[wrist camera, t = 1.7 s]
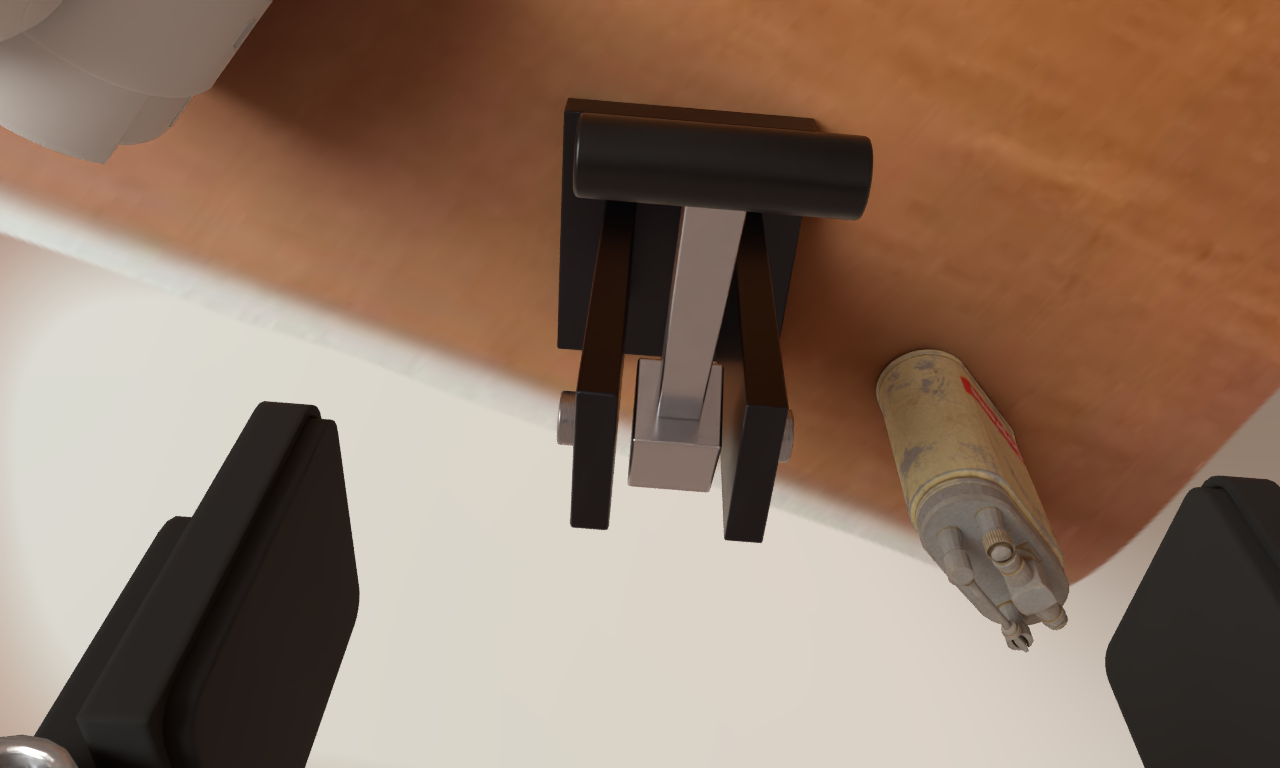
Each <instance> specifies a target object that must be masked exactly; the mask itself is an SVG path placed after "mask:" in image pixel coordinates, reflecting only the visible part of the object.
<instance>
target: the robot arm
mask: <svg viewBox="0 0 1280 768" xmlns="http://www.w3.org/2000/svg"><path fill="white" fill-rule="evenodd" d="M358 606H359V584H358V576H357V569H356V562H355V555H354V547H353V539H352V532H351V524H350V517H349V510H348V503H347V495H346V488H345V481H344V473H343V466H342V458H341V451H340V444H339V437H338V431H337V425H336V423H335V421H333V420H327V419H321V415H320V411H319V410H318V408H317V407H316V406H314V405H306V404H305V405H304V404H293V403H280V402H279V403H278V402H267V401H264V402H261V403H260V404H259V405H258V406H257V407H256V409H255V410H254V412H253V413H252V415H251V417H250V419H249V420H248V422H247V424H246V426H245V427H244V429H243V431H242V432H241V434H240V436H239V438H238V439H237V441H236V443H235V444H234V446H233V448H232V449H231V451H230V453H229V455H228V456H227V458H226V460H225V462H224V463H223V465H222V467H221V469H220V470H219V472H218V474H217V475H216V477H215V479H214V480H213V482H212V484H211V486H210V487H209V489H208V491H207V492H206V494H205V496H204V498H203V499H202V501H201V503H200V505H199V506H198V508H197V510H196V511H195V513H194V515H193V516H192V517H181V516H175V517H174V518H172V519H170V520H169V521H167V522H166V524H165V525H164V526H163V527H162V529H161V530H160V531H159V532H158V534H157V536H156V537H155V539H154V540H153V542H152V544H151V545H150V547H149V549H148V550H147V552H146V554H145V555H144V557H143V558H142V560H141V562H140V564H139V565H138V567H137V568H136V570H135V572H134V573H133V575H132V577H131V578H130V580H129V581H128V583H127V585H126V586H125V588H124V590H123V591H122V593H121V594H120V596H119V598H118V599H117V601H116V603H115V604H114V606H113V608H112V609H111V611H110V612H109V614H108V616H107V617H106V619H105V621H104V622H103V624H102V626H101V627H100V629H99V631H98V632H97V634H96V635H95V637H94V639H93V640H92V642H91V644H90V645H89V647H88V649H87V650H86V652H85V654H84V655H83V657H82V658H81V660H80V662H79V663H78V665H77V667H76V668H75V670H74V672H73V673H72V675H71V676H70V678H69V680H68V681H67V683H66V685H65V686H64V688H63V690H62V691H61V693H60V694H59V696H58V698H57V699H56V701H55V703H54V704H53V706H52V707H51V709H50V711H49V712H48V714H47V716H46V717H45V719H44V721H43V722H42V724H41V726H40V727H39V729H38V731H37V732H36V734H35V735H34V737H33V736H27V735H16V736H7V737H0V768H305V766H306V763H307V760H308V757H309V754H310V751H311V748H312V745H313V743H314V740H315V736H316V734H317V731H318V728H319V725H320V722H321V720H322V717H323V713H324V711H325V708H326V705H327V702H328V699H329V697H330V694H331V691H332V688H333V685H334V682H335V679H336V676H337V674H338V671H339V668H340V665H341V662H342V659H343V656H344V653H345V651H346V648H347V645H348V642H349V639H350V636H351V633H352V630H353V627H354V625H355V621H356V618H357V613H358ZM1105 667H1106V673H1107V677H1108V680H1109V683H1110V685H1111V688H1112V690H1113V693H1114V695H1115V697H1116V700H1117V702H1118V704H1119V707H1120V709H1121V712H1122V714H1123V717H1124V719H1125V722H1126V724H1127V726H1128V729H1129V731H1130V734H1131V736H1132V738H1133V741H1134V743H1135V746H1136V748H1137V750H1138V753H1139V755H1140V757H1141V760H1142V762H1143V765H1144V767H1145V768H1280V487H1279V486H1278V485H1277V484H1276V483H1275V482H1273V481H1270V480H1267V479H1256V478H1243V477H1230V476H1213V477H1210V478H1209V479H1208V480H1206V481H1205V482H1204V484H1203V485H1202V486H1201V487H1197V488H1193V489H1191V490H1190V491H1189V492H1188V493H1187V495H1186V496H1185V498H1184V500H1183V502H1182V504H1181V506H1180V508H1179V510H1178V512H1177V513H1176V515H1175V517H1174V519H1173V521H1172V523H1171V525H1170V527H1169V529H1168V531H1167V533H1166V535H1165V537H1164V539H1163V541H1162V542H1161V544H1160V547H1159V548H1158V550H1157V552H1156V554H1155V556H1154V558H1153V560H1152V562H1151V564H1150V566H1149V568H1148V570H1147V571H1146V573H1145V575H1144V577H1143V579H1142V581H1141V583H1140V585H1139V587H1138V589H1137V591H1136V593H1135V595H1134V597H1133V599H1132V600H1131V603H1130V604H1129V606H1128V608H1127V610H1126V612H1125V614H1124V616H1123V618H1122V620H1121V622H1120V624H1119V626H1118V628H1117V630H1116V631H1115V634H1114V635H1113V637H1112V639H1111V641H1110V643H1109V645H1108V648H1107V651H1106V657H1105Z"/></svg>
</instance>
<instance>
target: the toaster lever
mask: <svg viewBox="0 0 1280 768" xmlns="http://www.w3.org/2000/svg"><path fill="white" fill-rule="evenodd" d="M872 173H873V149H872V144H871V141H870V139H869V138H867V137H866V136H858V135H846V134H834V133H822V132H810V131H799V130H787V129H775V128H763V127H751V126H739V125H727V124H715V123H704V122H692V121H680V120H668V119H656V118H644V117H632V116H621V115H609V114H597V113H585V112H584V113H581V114H580V116H579V118H578V122H577V128H576V137H575V148H574V164H573V190H574V194H575V196H577V197H579V198H590V199H602V200H614V201H626V202H638V203H650V204H662V205H674V206H682V209H681V216H680V224H679V231H678V239H677V246H676V254H675V261H674V269H673V276H672V284H671V291H670V299H669V306H668V314H667V321H666V329H665V336H664V344H663V352H662V359H648V358H639V360H638V365H637V375H636V386H635V397H634V408H633V420H632V433H631V446H630V459H629V472H628V485H629V486H635V487H647V488H660V489H672V490H685V491H697V492H709V490H710V488H711V484H712V480H713V477H714V473H715V470H716V466H717V462H718V459H719V455H720V452H721V448H722V422H723V387H724V367H723V365H721V364H713V361H714V356H715V352H716V347H717V343H718V338H719V334H720V329H721V325H722V320H723V316H724V311H725V307H726V302H727V298H728V293H729V289H730V284H731V280H732V275H733V271H734V266H735V262H736V257H737V253H738V248H739V244H740V239H741V235H742V230H743V226H744V221H745V217H746V212H758V213H770V214H782V215H794V216H806V217H818V218H830V219H842V220H857V219H859V218H860V217H861V216H862V214H863V212H864V210H865V207H866V205H867V201H868V198H869V193H870V188H871V182H872Z"/></svg>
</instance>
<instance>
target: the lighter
mask: <svg viewBox="0 0 1280 768" xmlns="http://www.w3.org/2000/svg"><path fill="white" fill-rule="evenodd" d="M876 397H877V401H878V404H879V407H880V409H881V410H882V413H883V417H884V421H885V424H886V428H887V432H888V436H889V440H890V444H891V448H892V452H893V455H894V459H895V463H896V467H897V471H898V475H899V479H900V482H901V486H902V490H903V494H904V498H905V502H906V506H907V510H908V513H909V517H910V520H911V523H912V526H913V527H914V528H915V529H916V531H917V532H918V533H919V536H920V540H921V543H922V545H923V548H924V549H925V550H926V551H927V553H928V554H929V555H930V556H931V557H932V559H933V560H934V561H935V562H936V563H937V564H938V566H939V567H940V568H941V569H942V570H943V571H944V573H945V574H946V575H947V576H948V579H949V581H950V582H951V583H952V584H954V585H956V586H957V588H958V589H959V590H960V591H961V592H962V593H963V594H964V595H965V596H966V597H967V598H968V599H969V601H970V602H971V603H972V604H973V605H974V606H975V607H976V608H977V609H978V610H979V612H980V613H982V615H983V616H985V617H986V618H988V619H990V620H991V621H994V622H996V623H999V624H1001V625H1002V627H1001V630H1002V634H1003V635H1004V636H1005V639H1006V642H1007V645H1008V647H1009V648H1011V649H1013V650H1023V651H1025V652H1028V648H1027V646H1028V647H1030V646H1031V645H1032V643H1033V638H1032V635H1031V632H1030V629H1029V627H1028V626H1027V625H1032V624H1036V623H1039V622H1042V623H1043V624H1044V625H1046V626H1048V627H1049V628H1051V629H1053V630H1058V629H1061V628H1063V627H1064V626H1065V625H1066V623H1067V621H1068V619H1067V615H1066V613H1065V610H1064V609H1063V607H1062V606H1063V605H1064V603H1065V601H1066V599H1067V596H1068V593H1069V583H1068V579H1067V577H1066V574H1065V572H1064V558H1063V554H1062V551H1061V549H1060V547H1059V544H1058V542H1057V540H1056V537H1055V535H1054V532H1053V530H1052V528H1051V525H1050V523H1049V521H1048V518H1047V516H1046V513H1045V511H1044V509H1043V506H1042V504H1041V501H1040V499H1039V497H1038V494H1037V492H1036V490H1035V487H1034V485H1033V482H1032V480H1031V478H1030V475H1029V473H1028V470H1027V468H1026V466H1025V463H1024V461H1023V459H1022V456H1021V454H1020V451H1019V449H1018V447H1017V444H1016V439H1015V436H1014V432H1013V430H1012V429H1011V427H1010V426H1009V425H1008V423H1007V422H1006V421H1005V419H1004V418H1003V417H1002V415H1001V414H1000V413H999V411H998V410H997V409H996V407H995V406H994V405H993V403H992V402H991V401H990V399H989V398H988V397H987V395H986V394H985V393H984V391H983V390H982V389H981V387H980V386H979V385H978V383H977V382H976V381H975V379H974V378H973V377H972V375H971V374H970V373H969V371H968V370H967V369H966V367H965V366H964V365H963V363H962V362H961V361H960V359H958V358H957V357H955V356H954V355H952V354H949V353H947V352H944V351H940V350H931V349H925V350H917V351H913V352H910V353H907V354H904V355H902V356H900V357H898V358H897V359H895V360H894V361H892V362H891V363H890V364H889V365H888V366H887V367H886V368H885V369H884V371H883V372H882V374H881V375H880V377H879V380H878V382H877V387H876ZM1025 641H1026V642H1025ZM1026 644H1027V645H1026Z"/></svg>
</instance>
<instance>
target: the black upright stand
mask: <svg viewBox="0 0 1280 768" xmlns="http://www.w3.org/2000/svg"><path fill="white" fill-rule="evenodd" d="M584 112H585V113H597V114H609V115H621V116H632V117H644V118H656V119H668V120H680V121H692V122H704V123H715V124H727V125H739V126H751V127H763V128H775V129H787V130H799V131H810V132H817V129H816V125H815V122H814V119H811V118H799V117H788V116H776V115H764V114H752V113H740V112H728V111H716V110H705V109H693V108H681V107H669V106H657V105H645V104H633V103H622V102H610V101H598V100H586V99H574V98H568V100H567V103H566V107H565V111H564V133H563V168H562V202H561V237H560V271H559V306H558V340H557V347H558V348H559V349H572V350H582V356H581V362H580V369H579V375H578V382H577V388H576V392H573V391H562V393H561V397H560V404H559V413H558V425H557V442H558V444H560V445H572V446H573V469H572V492H571V494H572V495H571V517H570V524H571V526H572V527H574V528H586V529H599V530H607V529H608V527H609V518H610V507H611V496H612V484H613V474H614V464H615V453H616V442H617V431H618V420H619V409H620V398H621V387H622V376H623V365H624V354H633V355H645V356H657V357H662V352H663V344H664V336H665V329H666V321H667V314H668V306H669V299H670V291H671V284H672V276H673V269H674V261H675V254H676V246H677V239H678V231H679V224H680V216H681V209H682V206H674V205H662V204H650V203H638V202H626V201H614V200H602V199H590V198H579V197H577V196H575V194H574V190H573V164H574V148H575V137H576V128H577V122H578V118H579V116H580V114H581V113H584ZM801 221H802V216H794V215H782V214H770V213H758V212H746V217H745V221H744V226H743V230H742V235H741V239H740V244H739V248H738V253H737V257H736V262H735V266H734V271H733V275H732V280H731V284H730V289H729V293H728V298H727V302H726V307H725V311H724V316H723V320H722V325H721V329H720V334H719V338H718V343H717V347H716V352H715V356H714V361H717V364H721V365H723V367H724V387H723V422H722V448H721V474H722V497H723V522H724V539H725V540H730V541H742V542H756V543H762V541H763V536H764V531H765V526H766V521H767V516H768V511H769V506H770V501H771V496H772V491H773V486H774V481H775V476H776V471H777V466H778V462H783V463H786V462H788V461H789V459H790V456H791V452H792V446H793V437H794V417H793V412H792V410H790V409H789V407H788V400H787V392H786V385H785V377H784V370H783V363H782V355H781V348H780V335H781V330H782V324H783V319H784V314H785V308H786V303H787V297H788V292H789V286H790V281H791V275H792V270H793V265H794V259H795V254H796V248H797V243H798V237H799V232H800V226H801Z"/></svg>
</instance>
